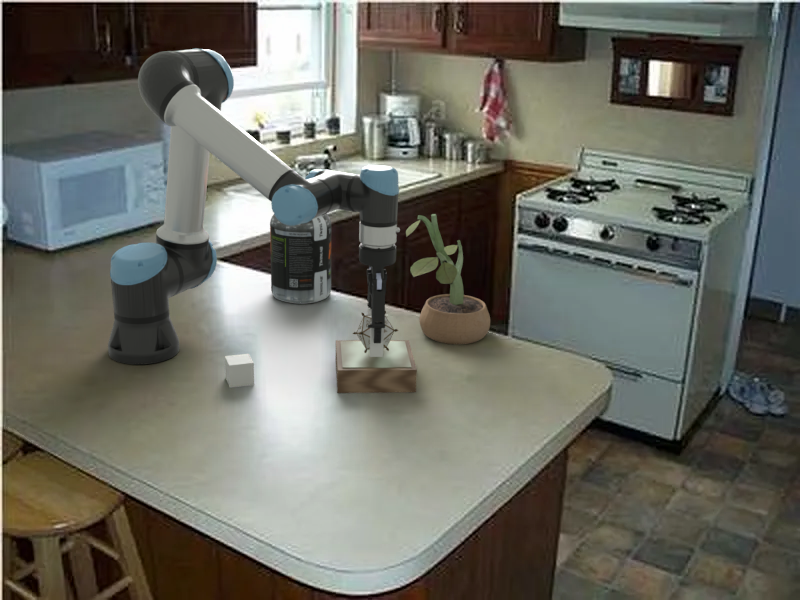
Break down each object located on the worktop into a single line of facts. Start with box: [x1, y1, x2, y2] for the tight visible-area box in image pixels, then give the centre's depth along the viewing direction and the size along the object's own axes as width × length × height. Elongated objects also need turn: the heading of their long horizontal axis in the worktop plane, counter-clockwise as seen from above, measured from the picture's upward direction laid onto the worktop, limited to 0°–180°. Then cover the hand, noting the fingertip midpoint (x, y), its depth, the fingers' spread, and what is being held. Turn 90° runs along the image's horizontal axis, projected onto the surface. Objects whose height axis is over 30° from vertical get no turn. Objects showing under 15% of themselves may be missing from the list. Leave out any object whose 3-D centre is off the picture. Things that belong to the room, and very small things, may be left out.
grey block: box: [224, 353, 255, 389], centre depth 186 cm, size 5×5×5 cm
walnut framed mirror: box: [335, 339, 418, 394], centre depth 190 cm, size 16×16×5 cm
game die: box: [352, 310, 399, 353], centre depth 188 cm, size 9×8×10 cm
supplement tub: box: [269, 213, 332, 305], centre depth 234 cm, size 16×16×26 cm
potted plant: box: [405, 213, 491, 345], centre depth 211 cm, size 22×18×30 cm
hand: (374, 346), depth 189 cm, fingers closed on game die, 9 cm apart
